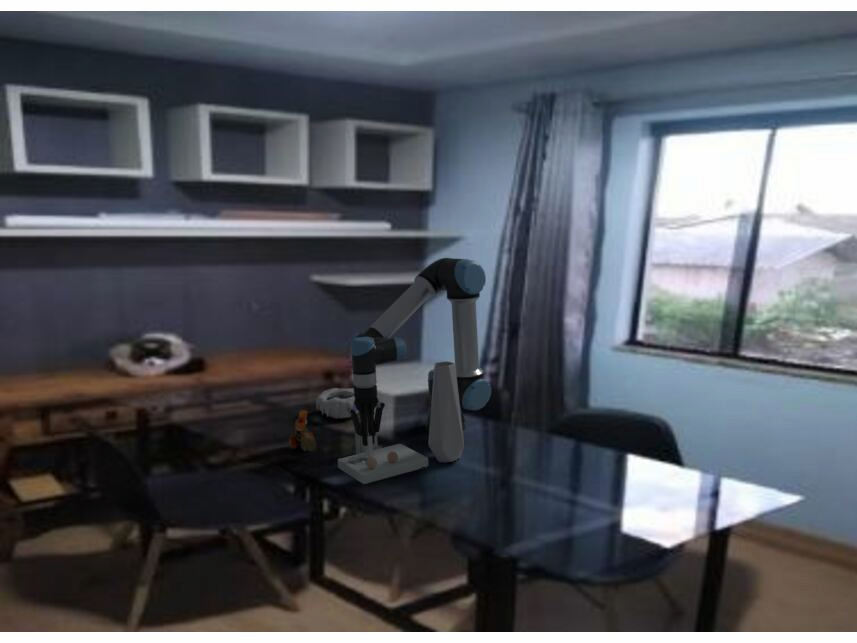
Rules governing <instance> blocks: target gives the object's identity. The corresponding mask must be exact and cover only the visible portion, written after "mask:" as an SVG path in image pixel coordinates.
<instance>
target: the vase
mask: <svg viewBox="0 0 857 643" xmlns="http://www.w3.org/2000/svg"><path fill="white" fill-rule="evenodd" d="M433 369H434V377H433V390H432V402H431V414H430V427H429V431H428V447H429V448H430V450H431V452H432V454H433V455H434V457H435V459H436V460H437V462H438V461H439V463H447V462H451V461H455V460H456V461H458V460H459V459H460V458H461V457H462V454H463V451H464V448H465V442H464V440H465V439H464V432H463V431H464V429H463V430H462V421H461V412H460V408H461V407H460V403H459V394H458V385H457V376H456V367H455V362H453V361H452V362H451V361H448V360H447V361H438V362H434V367H433ZM458 458H459V459H458ZM457 459H458V460H457ZM444 461H445V462H444ZM456 461H455V462H456Z"/></svg>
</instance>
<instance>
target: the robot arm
mask: <svg viewBox="0 0 857 643" xmlns="http://www.w3.org/2000/svg"><path fill="white" fill-rule="evenodd" d="M486 277H487V276H486V272H485V269H484V267H483V266H482V265H481V264H480V263H479V262H478V261H475V260H471V259H468V258H451V257H443V258H439V259H437V260H435V261H433V262H431V263H430V264H428V266H426V267H425V268H424V269H423V270H422V271H420V272H419V273H418V274H417V275H416V276H415V277H414V280H413V283H412V284H411V285H410V286H409V287H408V288H407V289H406V290H405V291H404V292H403V293H402V294H401V295H400V296H399V297H398V298H397V299H396V300H395V301H394V302H393V303H392V304H391V305H390V306H389V307H388V308H387V309H386V310H385V311H384V312H383V313H382V314H381V315H380V317H378V318H377V320H375V321H374V322H373V323H372V324H371V325H370V326H369V327H368V328H367V329H366V330H365V331H364V332H357V333H355V334H354V335H353V336H352V337H351V340H350V344H349V345H350V349H351V350H350V351H351V352H350V355H351V366H352V381H353V382H352V383H353V385H354V386H353V388H354V398H355V401H354V406H353V407H351V408H348V412H349V413H350V415H351V417H350V418H351V420H352V423H353V429H354V428H355V431H356V434H357V435H359V436H362V444H363V445H364V446H365V454H367V455H369V456H371V455H373V444H374V443H375V440H374V436H375V435H376V434H375V433H376V432H377V433H380V430H381V423H382V417H383V416H382V415H383V411H384V408H385V406H386V404H385V402H383V401H379V398H378V385H377V382H378V381H377V371H376V370H377V365H383V364H386V363H387V364H388V363H393V362H397V361H399V360H403V359H404V358H406V356H407V352H408V350H407V344H406V342H405V340H404V339H403V337H402V338H401V337H392V338H391V336H393V335H394V334H395V333H396V332H397V331H398V330H399V329H400V328H401V326H403V325H404V324H405V322H407V321H408V320H409V318H410V317H412V315H413V314H414V313H415V312H417V310H419V308H420V307H421V306H422V305H424V304H425V302H426V301H427V300H428V299H429V298H434V297H435V296H436V295H437V294H438V293H440V292H443V291H446V299H447V300H448V301H449V302H450V303H451V317H452V318H451V319H452V320H451V321H452V334H453V338H452V339H453V352H454V363H455V367H456V376H457V385H458V394H459V403H460V412H461V421H462V430H463V431H464V430H465V429H466V427H467V426H466V419H465V416H464V414H463V411H462V409H461V408H463V409H465V410H471V411H479V410H480V409H483V408H484V407H485V406H486V404H487V403H488V402H489V400H490V398H491V395H492V388H491V387H492V386H491V383H489V381H488V380H486V379H485V375H484V374H485V373H484V372H485V371H484V370H483V369H482V368H481V367H480V360H479V359H480V358H479V356H480V355H479V343H478V341H479V338H478V322H477V321H478V320H477V301H478V299H479V298H480V294H481V293H480V292H482V291H483V290H484V287H485V285H486ZM427 376H428V377H427V386H428V403H429V408H428V412H427V415H426V416H427V417H426V420H425V429H426V430H427V432H429V427H430V414H431V402H432V390H433V377H434V368H433V369H430V370H429V371H428V374H427ZM356 409H357V410H358V411H359V412H358V413H359V416H360V419H358V413H357V411H356ZM356 413H357V414H356ZM359 422H361V426H360V423H359ZM367 422H368V428H367ZM355 431H354V432H355ZM368 433H369V434H368Z"/></svg>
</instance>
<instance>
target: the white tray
mask: <svg viewBox="0 0 857 643" xmlns="http://www.w3.org/2000/svg"><path fill="white" fill-rule="evenodd" d="M392 451H393V452H396V453H397V455H398V459H397V461H396V462H390V461H388V459H387V455H388V453H389V452H392ZM371 457H372V458H375V459H376V460H377V465H376V467H375V468H373V469H370V468H368V467H367V465H366V461H367V459H368V458H371ZM359 459H363V460H365V463H357V462H356V461H357V460H359ZM427 466H428V467H429V457H428V456H425V455H423V454H422V453H420V452H417V451H415V449H414V450H413V449H411V448H410V447H408V446H406V445H404V444H402V443H398V444H397V443H395V444H393V445H389V446H385V447H382V448H381V447H380V448H378V449H376V450H373V455H371V456H369V455H367V454H365V452H364V453H360V454H356V453H355V454H353V455H352V454H351V455H350V456H345V457H342V458H337V468H338V469H340V471H342V472H344V473H345V474H347V475H349V476H350V477H352V478H353V479H355V480H356V481H358V482H360V483H361V484H362V485H366V484H370V483H373V482H377V481H380V480H384V479H388V478H392V477H395V476H399V475H403V474H405V473H410V472H414V471H417V470H420V468H421V469H423V468H422V467H425V468H427Z"/></svg>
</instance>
